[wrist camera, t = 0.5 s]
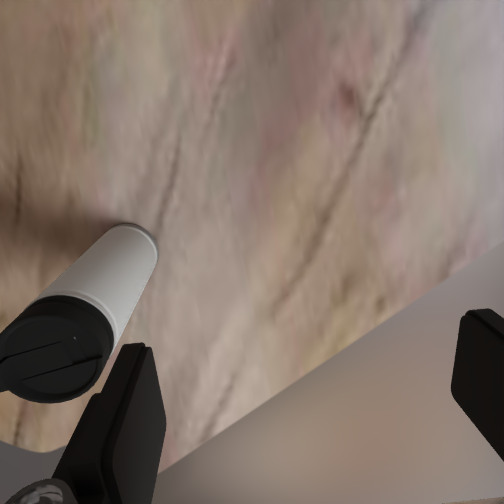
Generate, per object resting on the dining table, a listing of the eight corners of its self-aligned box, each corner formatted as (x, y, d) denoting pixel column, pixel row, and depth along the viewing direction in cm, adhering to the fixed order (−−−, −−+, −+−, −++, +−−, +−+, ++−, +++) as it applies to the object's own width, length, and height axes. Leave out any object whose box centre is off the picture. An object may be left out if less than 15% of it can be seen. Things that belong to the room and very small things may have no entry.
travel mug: (88, 232, 39) (-41, 339, 20) (147, 216, 39) (71, 308, 20) (111, 283, 41) (13, 422, 23) (167, 268, 41) (115, 395, 22)
